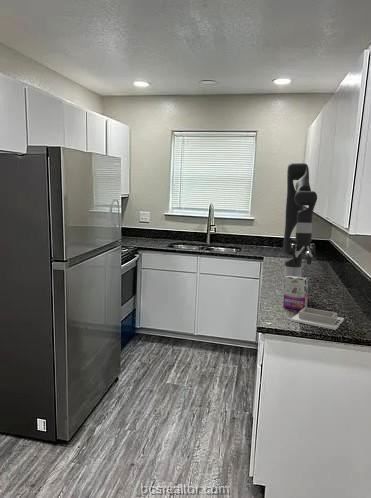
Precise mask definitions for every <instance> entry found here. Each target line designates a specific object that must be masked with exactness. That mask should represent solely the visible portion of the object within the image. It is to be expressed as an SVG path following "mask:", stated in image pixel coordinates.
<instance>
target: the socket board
mask: <svg viewBox="0 0 371 498" xmlns="http://www.w3.org/2000/svg"><path fill="white" fill-rule="evenodd" d="M298 311H299V312H298V313H297V314H295V315H294V316H293V317H291V318H290V322H295V323H298V324H299V323H300V324H304V325H309V326H314V327H317V328H318V327H319V328H322V329H328V330H334V331H337V330H336V329H339V327H340V326H341V325H342V323H343V322H344V321H345V318H344V317H341V316H338V312H335V311H330V310H329V311H328V310H323V309H318V308H317V309H316V308H313V307H308V306H307V307H304V308H303V309H302V310H298ZM340 324H341V325H340Z"/></svg>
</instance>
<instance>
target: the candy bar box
mask: <svg viewBox="0 0 371 498" xmlns="http://www.w3.org/2000/svg"><path fill="white" fill-rule="evenodd" d="M283 292H284V294H283V305H282V307H283V308H286V309H287V308H288V309H291V310H292V309H293V310H296V311H297V310H298V311H301V310H302V309H303V308H304V307H307V308H308V296H309V295H308V294H309V293H308V292H309V277H304V276H301V277H297V276H286V277H285V282H284V281H283Z"/></svg>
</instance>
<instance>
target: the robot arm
mask: <svg viewBox="0 0 371 498" xmlns="http://www.w3.org/2000/svg"><path fill="white" fill-rule="evenodd" d="M309 169H310V168H309V165H308V164H307V163H303V162H301V163H299V162H298V163H297V162H295V163H294V162H293V163H292V162H291V163H289V164H288V166H287V170H286V171H287V175H286V177H287V179H286V180H287V182H286V184H287V188H286V189H287V191H286V203H285V222H284V224H285V225H284V235H283V244H282V251H283V253H284V254H285V255H289V257H292V258H290V259H286V260H285V261H284V276H283V277H284V278H283V283H284V282H285V277H286V276H297V277H302V262H303V253H305V254H306V264H307V266H309V265H311V264H312V261H313V259H312V258H313V257H315V256H316V244H315V243H311V242H312V238H313V237H312V233H313V213H314V210H315V206H316V203H317V201H318V194H317V192H315V191H314V190H312V189H311V184H310V171H309ZM294 181H296V183H295V185H294ZM304 206H305V207H307V206H308V207H307V208H306V209H304ZM295 227H296V228H295ZM294 228H295V238H292V237H291V236H292V234H293V230H294ZM282 293H283V295H284V291H283V292H282Z"/></svg>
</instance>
